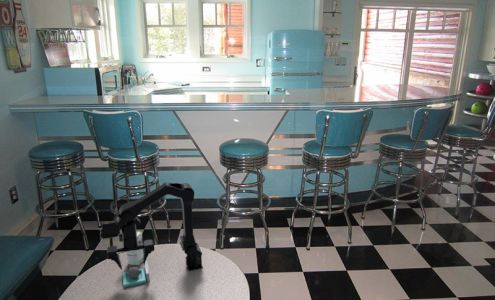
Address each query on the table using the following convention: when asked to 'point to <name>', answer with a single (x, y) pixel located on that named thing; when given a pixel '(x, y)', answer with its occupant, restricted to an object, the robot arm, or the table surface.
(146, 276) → the gray flat board
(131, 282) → the coaster
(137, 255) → the syrup box
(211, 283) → the table surface
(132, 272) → the ball
